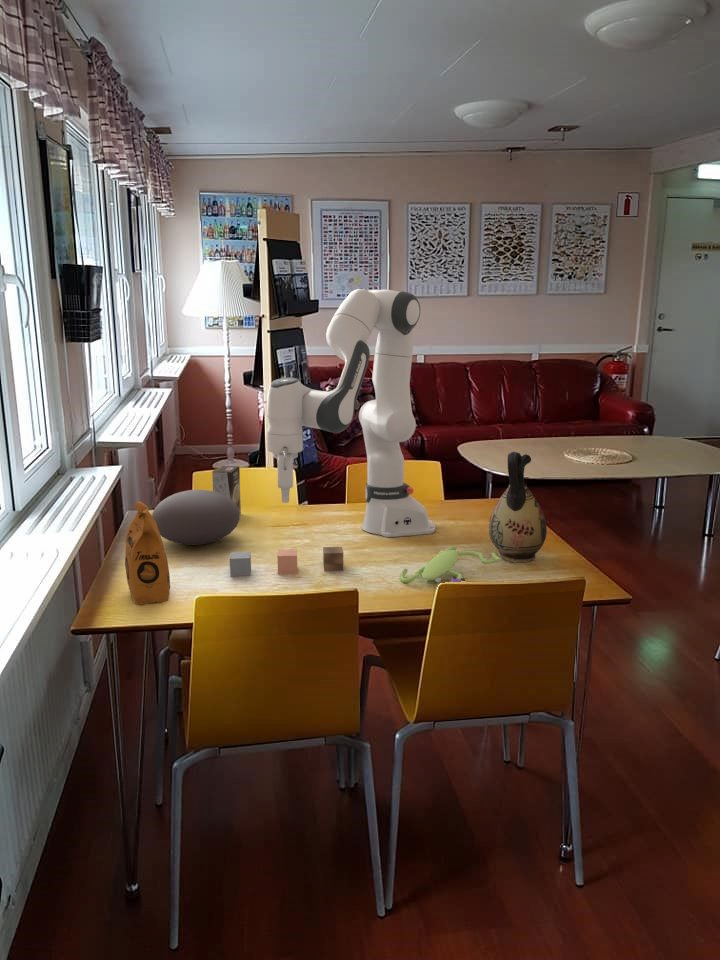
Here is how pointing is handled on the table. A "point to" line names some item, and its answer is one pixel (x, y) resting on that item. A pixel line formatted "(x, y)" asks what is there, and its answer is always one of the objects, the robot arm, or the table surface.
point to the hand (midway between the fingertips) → (285, 497)
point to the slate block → (240, 564)
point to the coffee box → (228, 483)
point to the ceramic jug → (517, 517)
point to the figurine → (445, 565)
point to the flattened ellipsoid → (196, 517)
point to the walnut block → (333, 558)
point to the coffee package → (146, 559)
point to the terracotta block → (287, 561)
